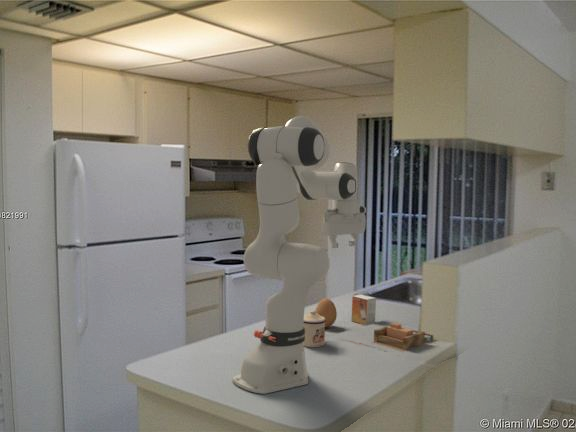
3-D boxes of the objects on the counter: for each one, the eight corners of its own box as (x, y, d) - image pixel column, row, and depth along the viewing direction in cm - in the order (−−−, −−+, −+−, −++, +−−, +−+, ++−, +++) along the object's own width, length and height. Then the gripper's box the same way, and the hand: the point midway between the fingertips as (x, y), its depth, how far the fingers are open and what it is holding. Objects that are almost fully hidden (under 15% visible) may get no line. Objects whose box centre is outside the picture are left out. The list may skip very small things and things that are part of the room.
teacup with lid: (316, 349, 184) (316, 315, 183) (293, 344, 189) (294, 311, 189) (334, 341, 194) (335, 308, 193) (312, 336, 199) (313, 305, 198)
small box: (351, 321, 221) (351, 295, 221) (360, 319, 225) (361, 294, 224) (366, 325, 215) (367, 299, 215) (375, 323, 219) (376, 297, 218)
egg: (337, 330, 208) (337, 301, 207) (315, 329, 208) (315, 300, 207) (335, 324, 216) (336, 296, 215) (314, 324, 216) (315, 295, 215)
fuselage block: (405, 346, 185) (406, 328, 185) (386, 341, 191) (387, 323, 191) (412, 344, 188) (413, 326, 188) (393, 338, 194) (393, 321, 194)
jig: (403, 354, 181) (403, 339, 180) (371, 345, 190) (371, 330, 190) (435, 342, 194) (436, 328, 194) (404, 334, 204) (405, 321, 203)
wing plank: (427, 341, 191) (427, 337, 191) (398, 334, 200) (398, 330, 200) (430, 340, 193) (430, 336, 193) (402, 333, 202) (402, 329, 202)
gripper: (331, 209, 186) (330, 250, 187) (369, 208, 200) (367, 245, 201) (318, 208, 190) (317, 248, 191) (355, 207, 204) (354, 244, 205)
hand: (343, 246), depth 196 cm, fingers open, 8 cm apart
